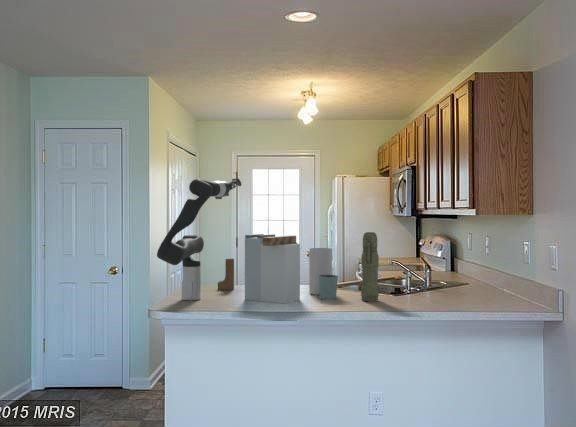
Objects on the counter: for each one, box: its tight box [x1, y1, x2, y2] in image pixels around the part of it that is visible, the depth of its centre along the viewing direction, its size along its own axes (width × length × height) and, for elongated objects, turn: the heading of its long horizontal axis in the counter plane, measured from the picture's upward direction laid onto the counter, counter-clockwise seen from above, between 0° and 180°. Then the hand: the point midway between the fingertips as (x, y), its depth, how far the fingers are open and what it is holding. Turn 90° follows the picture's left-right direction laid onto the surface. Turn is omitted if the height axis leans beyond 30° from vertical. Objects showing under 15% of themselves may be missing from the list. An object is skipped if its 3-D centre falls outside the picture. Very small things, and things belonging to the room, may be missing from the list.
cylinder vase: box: [308, 247, 333, 296], centre depth 315 cm, size 12×12×25 cm
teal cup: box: [319, 274, 339, 300], centre depth 299 cm, size 10×10×12 cm
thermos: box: [360, 231, 380, 302], centre depth 291 cm, size 9×12×35 cm
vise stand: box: [244, 233, 301, 304], centre depth 294 cm, size 14×25×34 cm, turn 58°
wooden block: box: [217, 258, 235, 291], centre depth 330 cm, size 9×4×18 cm, turn 88°
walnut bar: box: [263, 235, 297, 246], centre depth 288 cm, size 26×4×4 cm, turn 149°
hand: (234, 188), depth 285 cm, fingers open, 8 cm apart
